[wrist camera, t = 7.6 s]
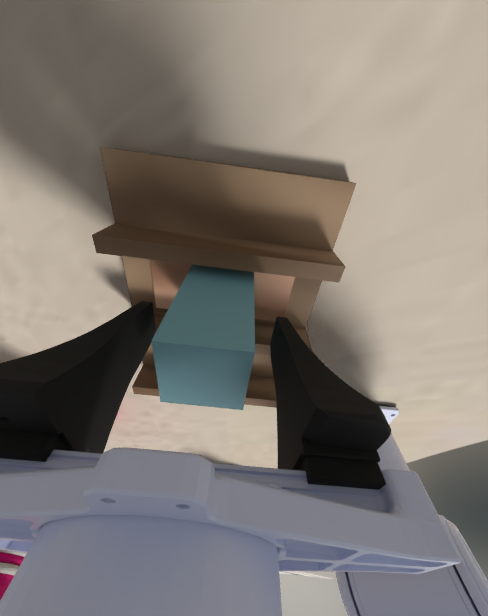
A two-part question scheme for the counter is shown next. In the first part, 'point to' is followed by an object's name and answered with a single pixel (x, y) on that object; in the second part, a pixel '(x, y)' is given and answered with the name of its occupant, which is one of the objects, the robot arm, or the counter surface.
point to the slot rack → (223, 240)
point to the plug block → (207, 339)
